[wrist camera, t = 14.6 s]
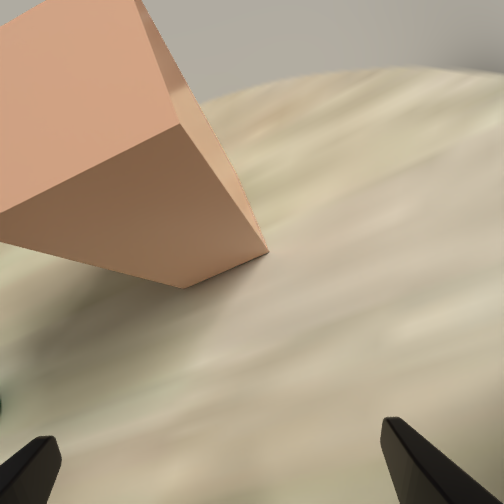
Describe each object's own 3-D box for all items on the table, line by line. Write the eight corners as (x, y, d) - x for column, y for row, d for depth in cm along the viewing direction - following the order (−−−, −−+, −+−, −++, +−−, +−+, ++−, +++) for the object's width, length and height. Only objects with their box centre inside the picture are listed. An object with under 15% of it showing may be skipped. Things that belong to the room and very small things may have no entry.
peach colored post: (269, 252, 18) (179, 123, 6) (184, 288, 18) (-38, 232, 7) (236, 173, 19) (118, -42, 8) (159, 210, 20) (-55, 58, 9)
